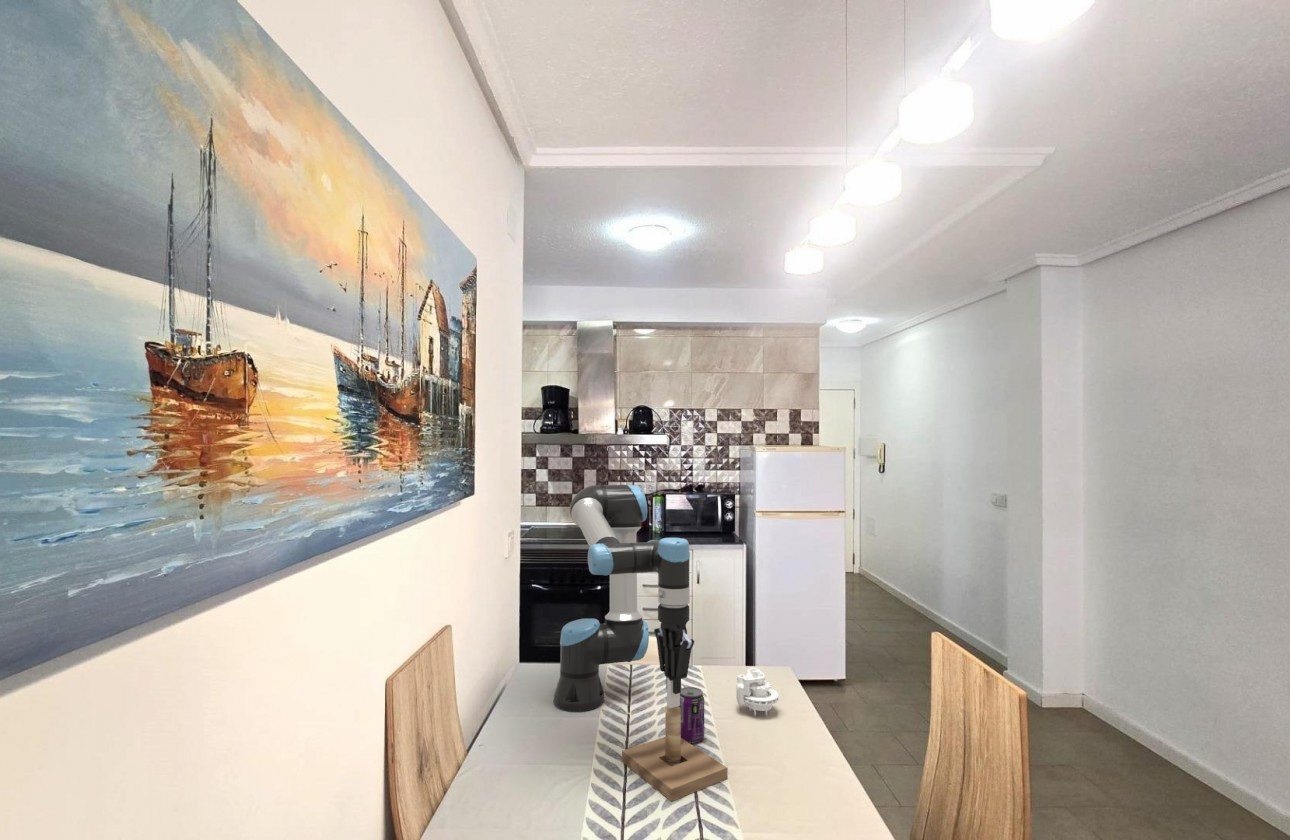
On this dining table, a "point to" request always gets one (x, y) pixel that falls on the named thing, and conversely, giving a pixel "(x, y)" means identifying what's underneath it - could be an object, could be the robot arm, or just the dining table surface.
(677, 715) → the peg
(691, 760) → the board
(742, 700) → the mechanical part
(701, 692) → the beverage can
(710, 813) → the dining table surface
